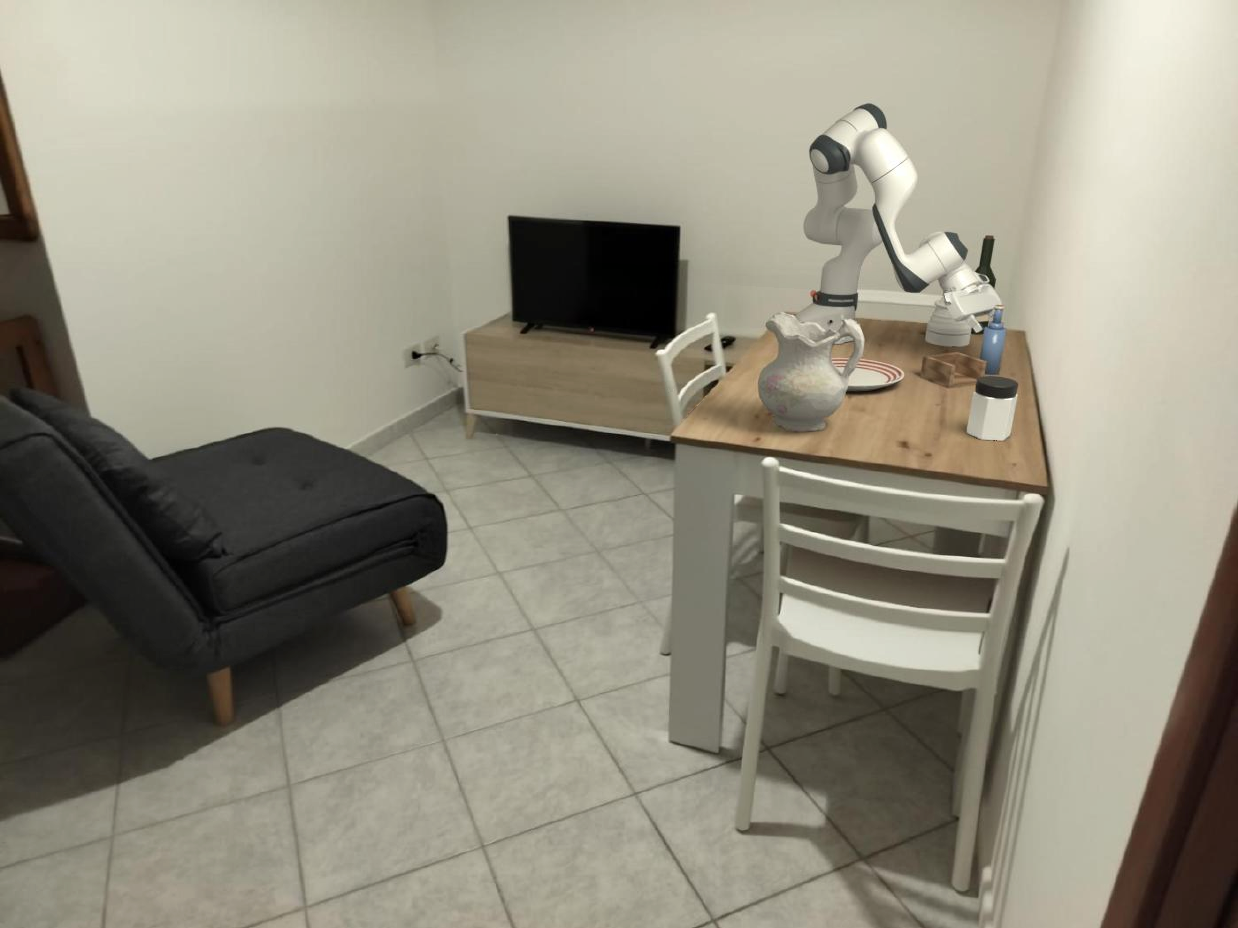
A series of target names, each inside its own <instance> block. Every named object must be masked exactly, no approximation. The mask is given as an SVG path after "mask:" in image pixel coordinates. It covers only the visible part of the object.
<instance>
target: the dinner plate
mask: <svg viewBox="0 0 1238 928" xmlns="http://www.w3.org/2000/svg"><path fill="white" fill-rule="evenodd" d="M849 358H850V357H849ZM849 358H846V357H831V360H832V363H833V364H834V365H835V366H836V367H837V368H839V369H840V371H841V372H842V373H843V370H844V368H845V366H846V363H847V361H848V360H849ZM904 377H905V372H904V371H903V370H902V369H901V368H899V367H897V366H895V365H893V364H889V363H885V362H881V361H876V360H871V359H863V358H861V359H860V361H859V363H858V364H857V366H856V368H855V370H854V371H853V372H852V373H851V374H850V376H849V381H848V388H847V391H846V392H867V391H874V390H877V389H881V388H884V387H888V386H892V385H894V384H896V383H898V382H900V381H901V380H902V379H904Z"/></svg>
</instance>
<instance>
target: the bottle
mask: <svg viewBox="0 0 1238 928" xmlns="http://www.w3.org/2000/svg"><path fill="white" fill-rule="evenodd" d="M994 309H995V311H994V317H993V321H992V320H991V321H989V324H988V326H986V327H985V328H984V334H982V335H983V336H982V341H981V346H980V352H979V358H978V359H980V360H983V361H987V363H986V369H985V376H997V375H999V373H1000V368H1001V363H1002V358H1003V351H1004V345H1005V341H1006V335H1007V328H1006V327H1004V326H1005V325H1004V324H1005V323H1004V322H1003V321H1002V317H1003V312H1004V310H1005V305H1003V304H1002V305H995V306H994Z"/></svg>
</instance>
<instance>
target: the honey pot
mask: <svg viewBox="0 0 1238 928" xmlns="http://www.w3.org/2000/svg"><path fill="white" fill-rule="evenodd" d="M933 304H934V306H935V308H934V311H932V314H931V316H930V319H929V320H928V322H927V323H926V325H927V326H926V332H925V339H924V341H925V342H926V343H929V344H932V345H935V346H942V347H952V346H957V347H966V346H968V345H969V344H970V341H971V335H972V334H971V329H972V327H971V326H969V325H968V324H967V323H966V322H965V320H963V321H959V322H956V321H955V320H953V318H952V317H951V315H950V314H949V312H948V310H947V308H946V306H945V304H944V298H943V296H942V297H941V298H940V299H939V300H938V299H937V300H935V301H934V303H933ZM965 345H966V346H965Z"/></svg>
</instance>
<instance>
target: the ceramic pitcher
mask: <svg viewBox="0 0 1238 928" xmlns="http://www.w3.org/2000/svg"><path fill="white" fill-rule="evenodd" d="M842 321H843V324H842V326H841V327H840V329H839V330H838V331H837V332H836V331H834V330H832V331H825V329H823V328H822V327H821V326H820V325H819V324H818V323H816V322H802V323H800V322H798V320H797V319H796V317H795V315H794V314H789V313H786V312H785V311H781V312H780V311H779V312H777V313H774V314H773V315H772V317H770V318H769V320H767V321H766V323H765V327H766V329H767V330H768V331H770V332H771V333H772V334H773V335H774V336H775V337H776V339H777V340H776V341H777V343H778V344H777V346H778V349H777V350H778V351H777V356H776V358H775V359H774V360H773V361H771V362H769V363H768V364H766V366H764V367H763V368H762V369H761V371H760V373H759V376H758V380H757V392H758V397H759V400H760V401H761V403H762V405H763V406H764V408H765V409H766V410H767V411H768V412H769V413H770V414H772V415H773V423H774V425H775V426H776V427H778V428H780V429H782V430H786V431H790V432H793V433H800V432H803V433H804V432H815V431H821V430H822V431H823V430H824V429H825V427H826V425H827V423H826V422H825V421H824V419H827V418H829V417H831V416H832V415H833V414H835V412H836V411H837V410H839V408H840V407H841V405H842V403H843V402H844V400H845V396H846V392H848V391H847V388H848V381H849V376H850V374H851V373H852V372H853V371H854V370H855V368H856V366H857V364H858V363H859V361H860V359H862V357H863V354H864V353H863V352H864V348H865V335H864V333H863V331H862V328H861V323H860V322H858V319H857V318H855V319H853V318H852V319H844V320H842ZM847 336H850V337H852V338H853V339H854V340H853V351H852V353H851V355H850V356H849V360H848V361H847V363H846V366H845V368H844V370H843V373H842V372H841V371H840V369H839V368H837V367H836V366H835V365H834V364H833V363H832V360H831V358H832V350H833V347H834V343H835V342H837V341H839V340H840V339H841V338H843V337H847Z"/></svg>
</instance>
